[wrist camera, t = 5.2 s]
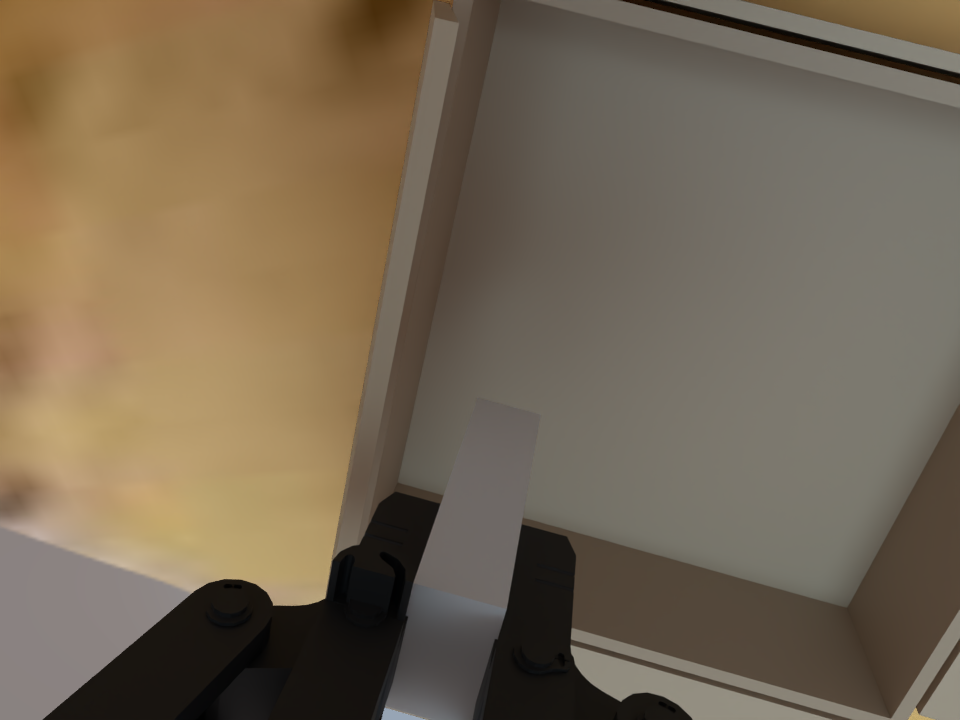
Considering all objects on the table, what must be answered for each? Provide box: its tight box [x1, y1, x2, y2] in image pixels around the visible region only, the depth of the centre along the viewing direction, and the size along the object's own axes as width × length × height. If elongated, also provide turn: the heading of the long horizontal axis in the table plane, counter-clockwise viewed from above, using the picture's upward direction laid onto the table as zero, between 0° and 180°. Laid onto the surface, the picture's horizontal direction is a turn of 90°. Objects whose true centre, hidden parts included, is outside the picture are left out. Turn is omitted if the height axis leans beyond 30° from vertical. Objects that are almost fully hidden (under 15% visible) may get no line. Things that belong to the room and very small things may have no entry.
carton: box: [357, 0, 960, 720], centre depth 27 cm, size 26×26×6 cm
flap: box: [325, 0, 459, 599], centre depth 20 cm, size 18×8×1 cm
